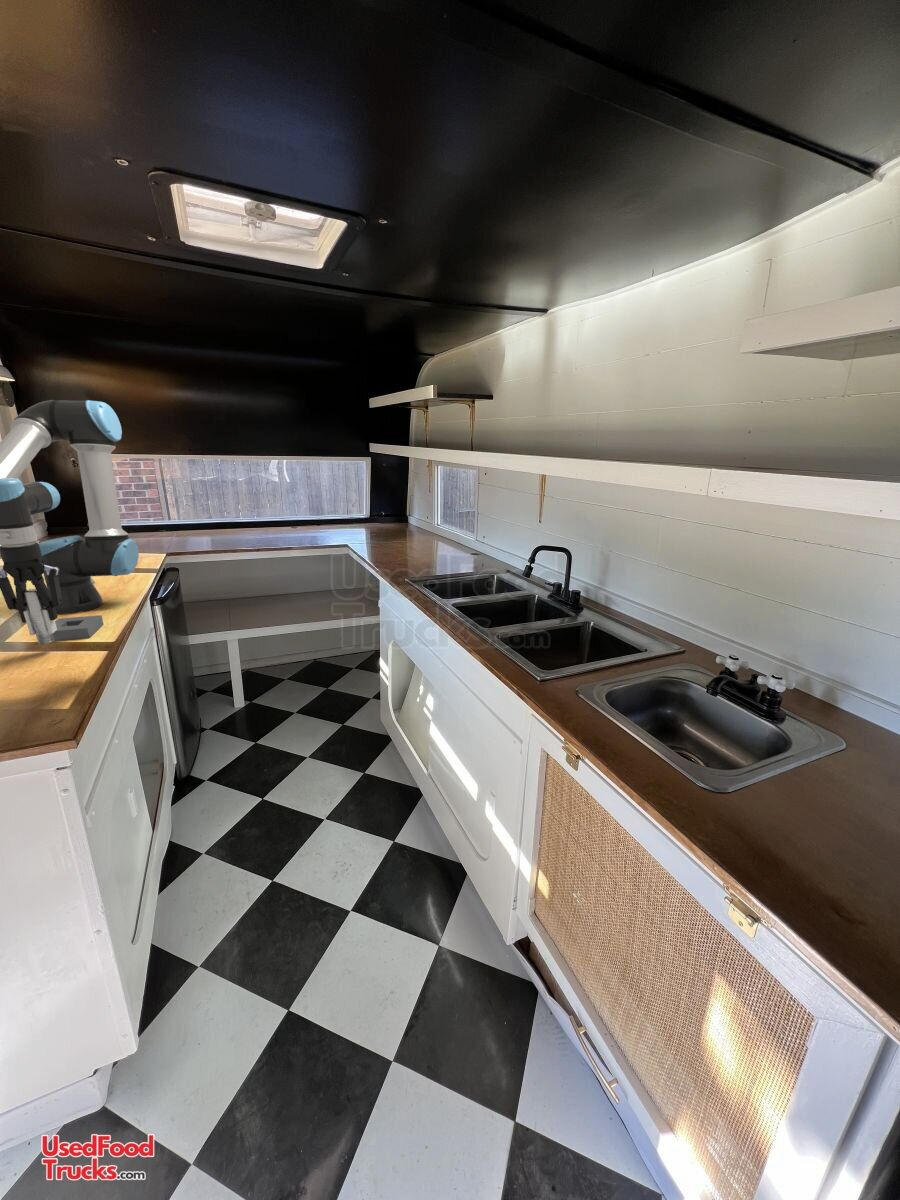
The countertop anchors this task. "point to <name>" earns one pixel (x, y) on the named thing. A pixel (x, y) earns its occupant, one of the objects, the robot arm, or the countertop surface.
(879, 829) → the countertop surface
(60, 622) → the socket block
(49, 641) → the steel peg
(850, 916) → the countertop surface
